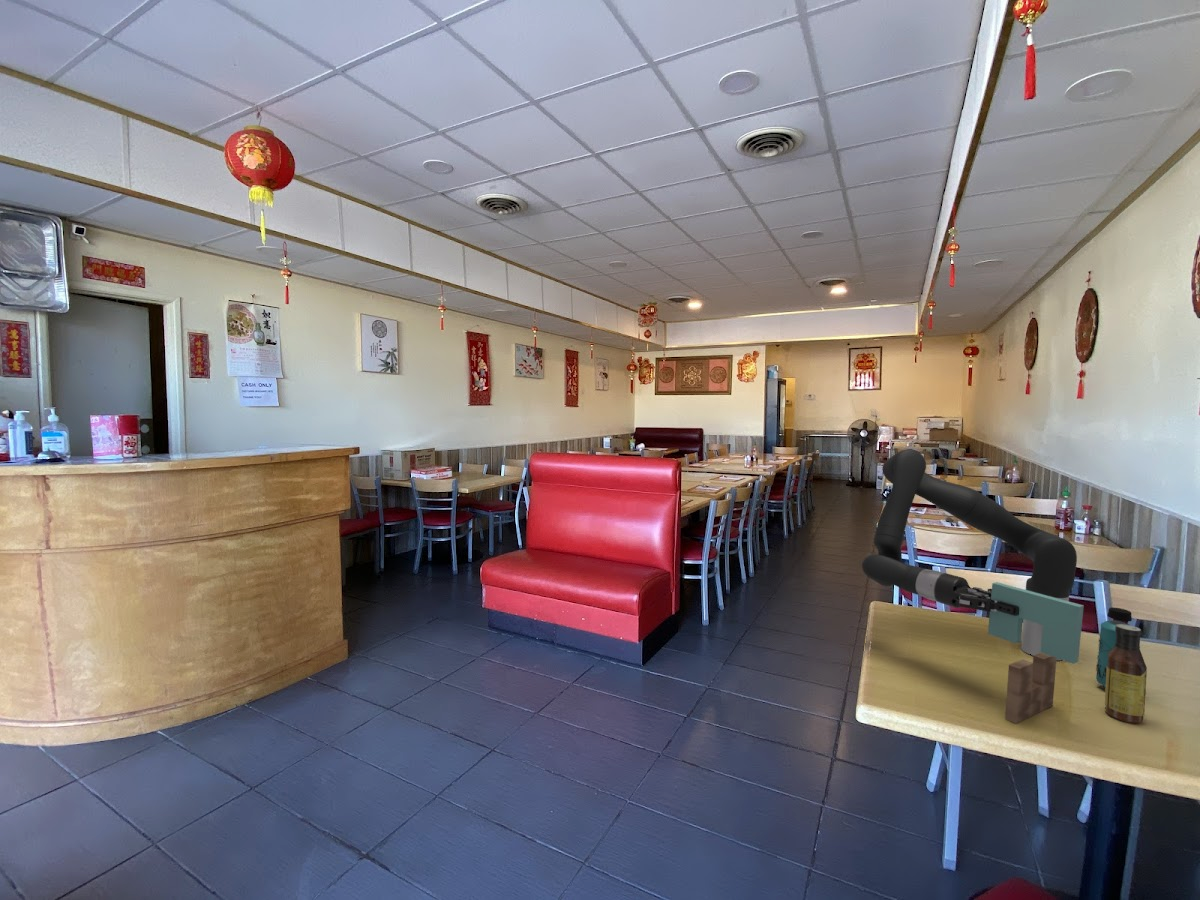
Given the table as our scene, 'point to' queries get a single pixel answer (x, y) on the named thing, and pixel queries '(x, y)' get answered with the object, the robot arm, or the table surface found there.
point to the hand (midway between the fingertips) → (1021, 610)
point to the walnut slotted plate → (1030, 687)
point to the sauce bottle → (1126, 676)
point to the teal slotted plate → (1039, 620)
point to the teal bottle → (1109, 640)
